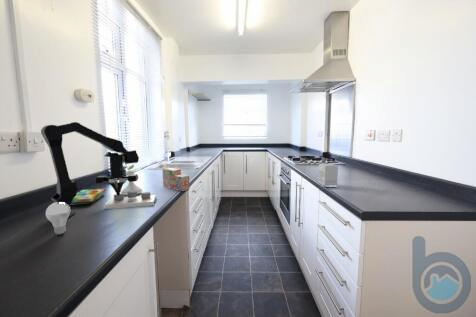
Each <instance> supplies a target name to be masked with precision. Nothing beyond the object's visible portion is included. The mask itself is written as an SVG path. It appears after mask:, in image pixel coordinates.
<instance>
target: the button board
mask: <svg viewBox="0 0 476 317" xmlns="http://www.w3.org/2000/svg"><path fill="white" fill-rule="evenodd" d="M156 201H157V194H150V198H148V199H142V198H141V195H137V197H135V198H128V196H124V199H123V200H120V201H114V197H112V198H110V199H109V200H108V201H107V202H106V203H105V204H104V209H105V210H107V209H119V208H120V209H121V208H123V209H124V208H137V207H149V206H150V207H151V205H152V206H154V205H155V203H156ZM154 202H155V203H154Z"/></svg>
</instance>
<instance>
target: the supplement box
mask: <svg viewBox="0 0 476 317" xmlns="http://www.w3.org/2000/svg"><path fill="white" fill-rule="evenodd" d="M338 169H339V165H338V164H335V163H318V183H320V184H322V185H337V186H338V179H339V178H338V171H339V170H338Z"/></svg>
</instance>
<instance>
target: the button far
mask: <svg viewBox="0 0 476 317" xmlns="http://www.w3.org/2000/svg"><path fill="white" fill-rule="evenodd" d="M150 195H151V192H148V191H145V192H144V191H143V192H141V194H140V196H141V198H142V199H148V198H150Z"/></svg>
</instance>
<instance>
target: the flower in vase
mask: <svg viewBox="0 0 476 317" xmlns="http://www.w3.org/2000/svg"><path fill="white" fill-rule="evenodd" d="M120 154H122V153H120ZM123 164H124V165H125V166H124V165H123V167H124V169H125V170H126V175H127V176H129V175H130V174H135V172H136V170H132V169H134V164H132V165H129V166H127V164H125V163H124V162H123ZM134 182H135V181H134ZM134 182H129V181H128V184H127V185H126V186H125V187H124V188H123V189H121V192H120V194H124V196H128V192H130V191H137V195H138V194H140V193H143V188H141V187H140V186H139V185H137V184H135V183H134Z"/></svg>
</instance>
